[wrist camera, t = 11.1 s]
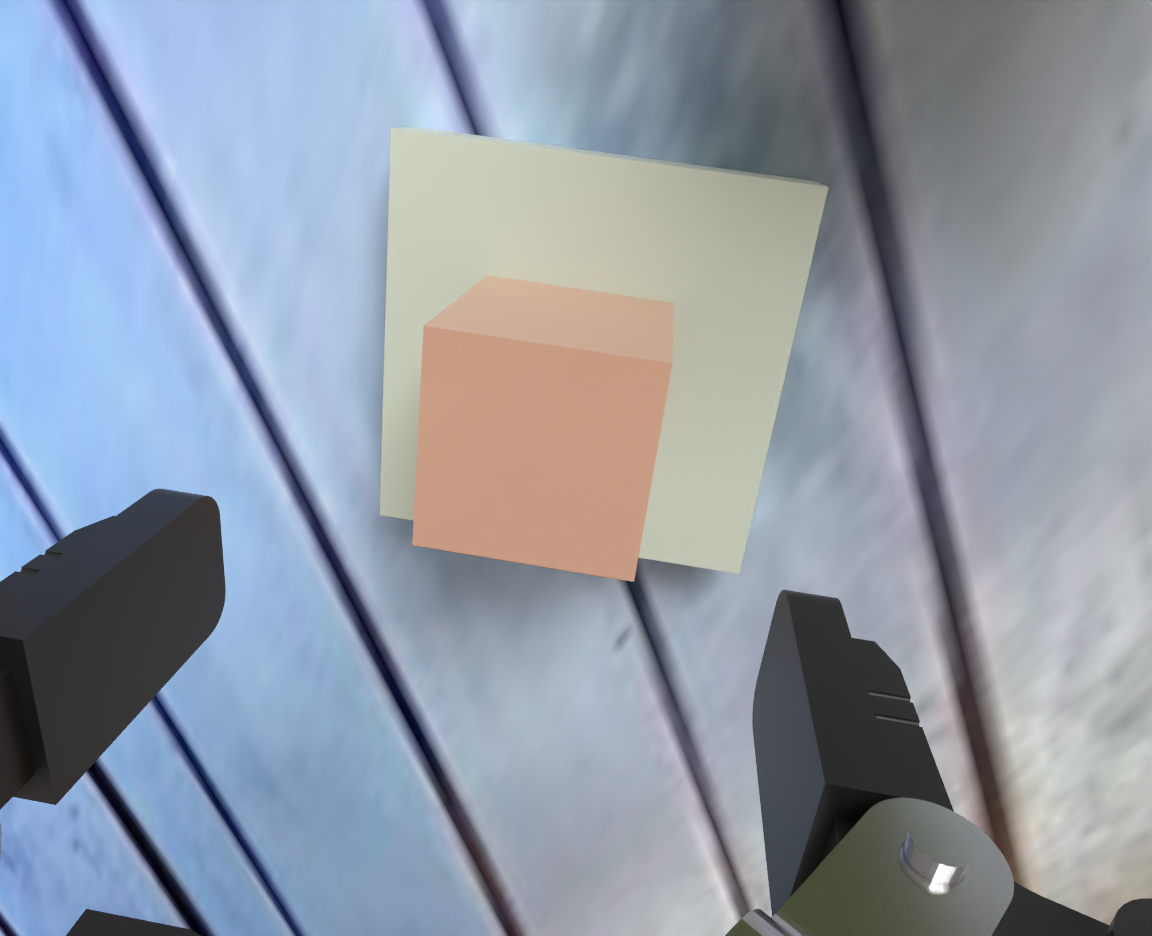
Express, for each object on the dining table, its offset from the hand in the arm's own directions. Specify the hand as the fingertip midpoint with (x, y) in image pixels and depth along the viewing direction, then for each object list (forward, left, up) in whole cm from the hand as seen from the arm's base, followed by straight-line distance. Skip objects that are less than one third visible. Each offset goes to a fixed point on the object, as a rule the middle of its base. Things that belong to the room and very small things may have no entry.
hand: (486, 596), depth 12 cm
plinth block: (0, 0, -15) cm, 15 cm away
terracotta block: (0, 0, -12) cm, 12 cm away
